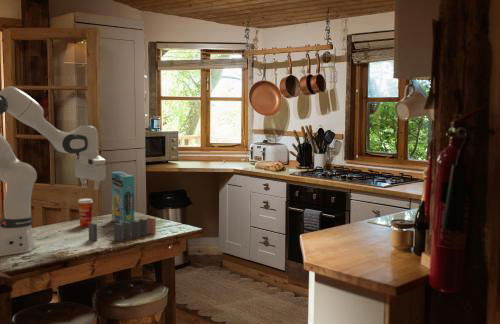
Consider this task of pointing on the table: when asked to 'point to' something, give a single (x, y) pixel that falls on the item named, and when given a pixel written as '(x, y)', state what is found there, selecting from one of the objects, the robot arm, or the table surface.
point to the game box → (122, 197)
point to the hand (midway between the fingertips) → (90, 188)
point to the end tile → (151, 225)
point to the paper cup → (85, 212)
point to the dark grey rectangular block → (92, 231)
